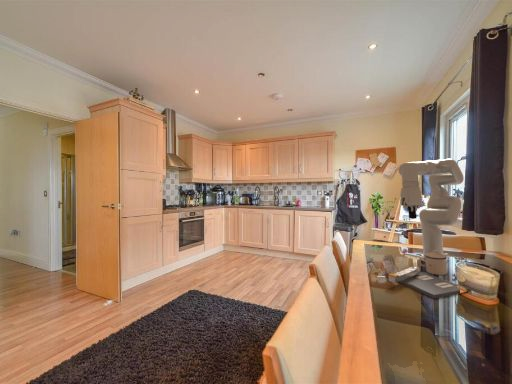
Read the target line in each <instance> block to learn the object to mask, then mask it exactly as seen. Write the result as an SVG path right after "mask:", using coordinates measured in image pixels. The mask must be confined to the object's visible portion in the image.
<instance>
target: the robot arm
mask: <svg viewBox="0 0 512 384" xmlns="http://www.w3.org/2000/svg"><path fill="white" fill-rule="evenodd" d="M398 173H399V175H400V176H401V182H402V183H401V184H402V187H401V189H400V196H399V197H400V201H399V203H400V206H402V208H403V209H405V210H407V212H408V219H411V220H414V219H417V211H418V209H419V208H420V207H421V206H422V203H423V199H422V198H423V197H422V191H421V186H420V180H419V176H428V183H429V187H430V190H431V193H430V196H429V198H428V201H427V205H426V206H427V208H424V209H421V210H420V212H419V215H418V216H419V220H420V225H421V232H422V234H421V236H422V251H423V252H422V253H423V256H421V257H425V254H426V253H430V252H433V250H437V252H439V253H441V254H443V255H445V256H446V257H450V254H449V253H444V244H443V243H444V242H443V233H442V232H443V231H442V229H441V228H440V227H439V226H445V227H450V226H451V227H452V226H454V225H456V224H457V221H458V219H459V217H460V212H461V209H462V201H461V199H460V197H458V196H453V195H449V194H450V193H449V191H448V190H447V189H446V188H445V187H443V186H454V185H455V186H458V185H460V184H462V183H463V182H464V178H465V177H464V174H463V172H462V169H461V168H460V166H459V164H458V163H457V161H456V160H455V159H453V158H446V159H445V158H444V159H437V160H436V159H435V160H423V161H410V162H403V163H401V164H400V165H399V166H398ZM420 261H422V262H425V263H426V261H425V259H420ZM447 263H448V261H447V259H446V264H447Z"/></svg>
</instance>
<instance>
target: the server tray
mask: <svg viewBox="0 0 512 384" xmlns="http://www.w3.org/2000/svg"><path fill="white" fill-rule="evenodd" d="M398 283H400V284H402V285H404V286H406V287H408V288H411V289H413V290H415V291H417V292H419V293H422V294H424V295H426V296H428V297H430V298H432V299H440V298H443V297H449V296H450V297H451V296H454V295H460V294H459V293H460V289H459V288H458V287H457V285H458V284H456V283H454V282H452V281H448V280H445V279H443V278H440V277H437V276H435V275H434V274H431V273H428V272H425V271H420V274H416V275H414V276H411V277H409V278H407V279H404V280H402V281H399V282H398Z"/></svg>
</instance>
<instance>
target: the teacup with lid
mask: <svg viewBox="0 0 512 384" xmlns="http://www.w3.org/2000/svg"><path fill="white" fill-rule="evenodd" d="M421 259H425V261H426V262H425V264H423V263H421ZM446 260H447V257H446V256H445V255H443V254H441V253H439V252H437V250H433V252H430V253H426V254H425V257H422V256H420V257H419V258H418V260H417V261H418V263H419V265H420V266H421V267H423V268H424V267H425V271H426V273H428V274H430V275H436V276H437V275H438V276H444V275H446V274H447V273H448V270H447V269H448V268H447V263H446Z"/></svg>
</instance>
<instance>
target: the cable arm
mask: <svg viewBox="0 0 512 384" xmlns="http://www.w3.org/2000/svg"><path fill="white" fill-rule="evenodd" d="M420 272H421V268H420V267H419V266H417V265H416V266H415V265H414V266H413V265H412V266H410V267H409V268H405V269H403V270H401V271H398V272H395V273H389V274H388V281H389V282H391V283H394V284H397V283H400V282H399V281H402V280H404V279H407V278H409V277H411V276H414V275H416V274H420Z"/></svg>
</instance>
